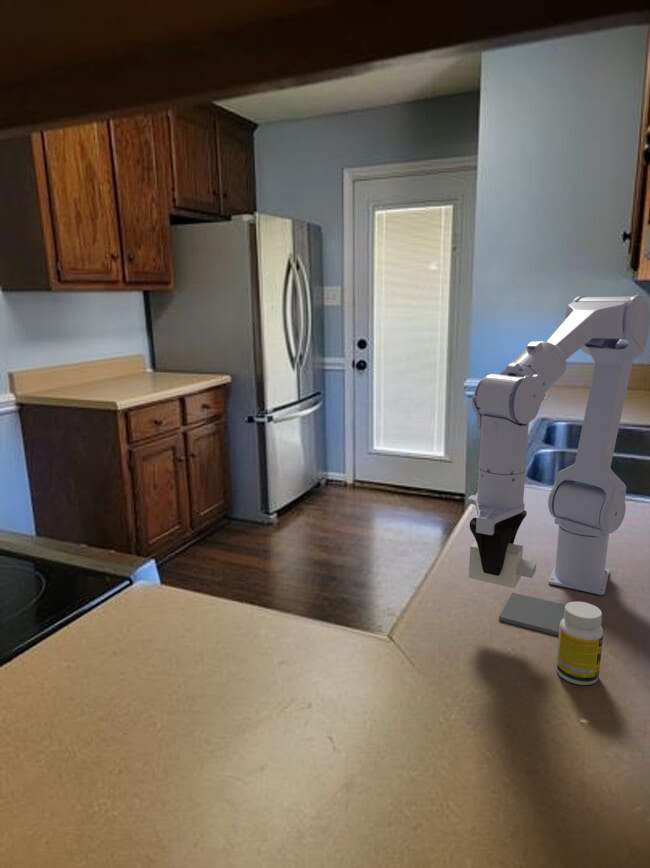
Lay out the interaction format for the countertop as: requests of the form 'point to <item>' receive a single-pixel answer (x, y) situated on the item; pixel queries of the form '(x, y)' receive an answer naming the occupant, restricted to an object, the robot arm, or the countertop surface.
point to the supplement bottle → (580, 643)
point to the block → (511, 567)
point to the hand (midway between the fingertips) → (495, 567)
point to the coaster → (533, 613)
